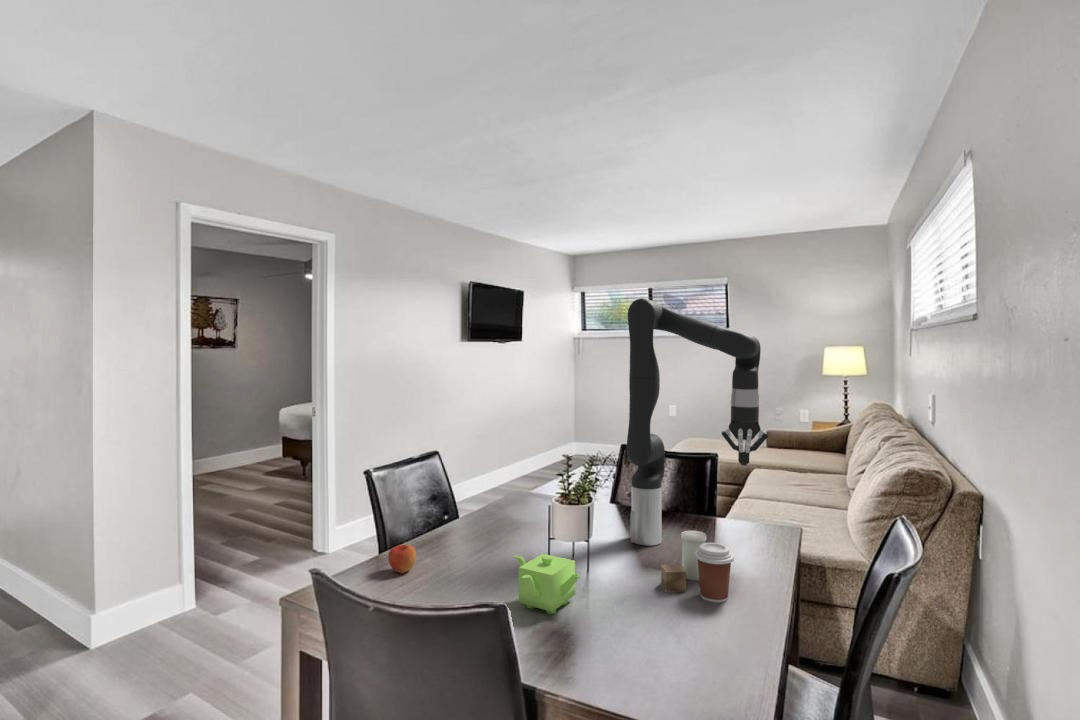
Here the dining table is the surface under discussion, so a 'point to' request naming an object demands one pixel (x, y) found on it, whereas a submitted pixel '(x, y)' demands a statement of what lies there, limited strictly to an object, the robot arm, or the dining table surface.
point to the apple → (402, 558)
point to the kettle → (546, 582)
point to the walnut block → (673, 578)
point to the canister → (691, 552)
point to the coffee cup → (714, 571)
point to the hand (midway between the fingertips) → (743, 465)
